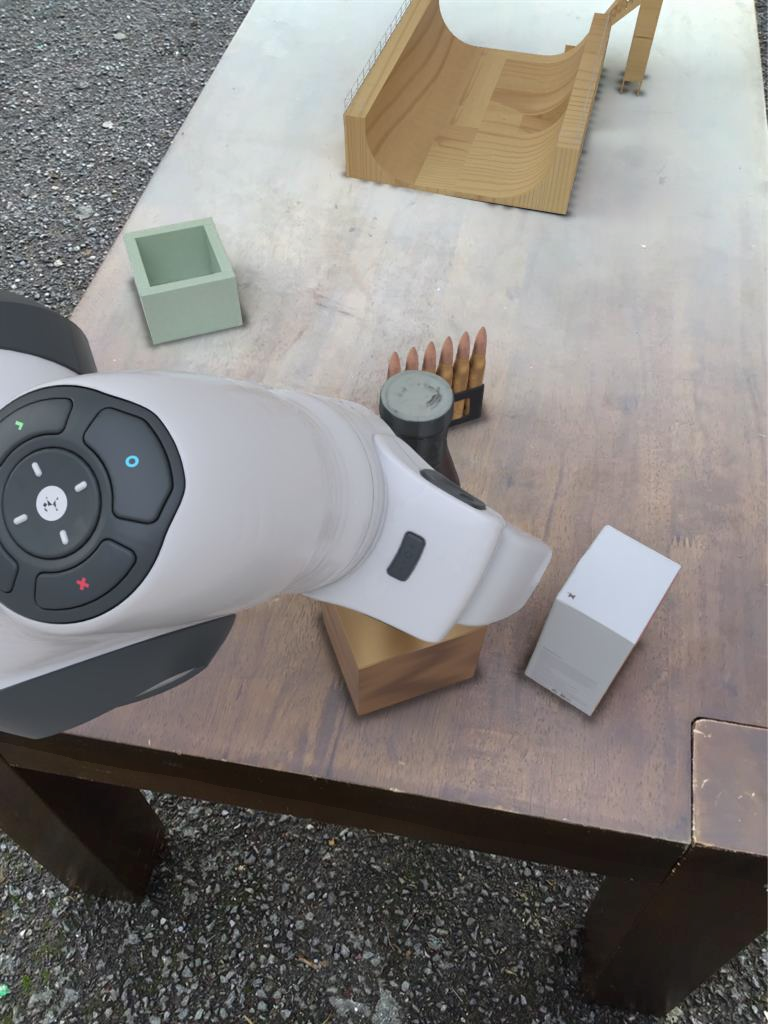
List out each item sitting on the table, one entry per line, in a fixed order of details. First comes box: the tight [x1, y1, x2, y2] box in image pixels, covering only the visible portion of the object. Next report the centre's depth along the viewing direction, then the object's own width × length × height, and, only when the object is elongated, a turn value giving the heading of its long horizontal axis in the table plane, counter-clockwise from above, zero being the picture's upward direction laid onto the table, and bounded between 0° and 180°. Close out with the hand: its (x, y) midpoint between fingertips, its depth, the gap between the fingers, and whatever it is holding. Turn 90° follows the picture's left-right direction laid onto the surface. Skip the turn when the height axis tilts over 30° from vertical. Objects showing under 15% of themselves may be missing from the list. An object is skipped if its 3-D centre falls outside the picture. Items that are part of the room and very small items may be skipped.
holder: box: [121, 216, 244, 346], centre depth 90 cm, size 10×11×7 cm
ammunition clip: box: [379, 326, 488, 429], centre depth 78 cm, size 11×2×12 cm, turn 114°
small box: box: [523, 524, 682, 717], centre depth 63 cm, size 8×6×13 cm
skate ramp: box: [342, 0, 664, 215], centre depth 111 cm, size 40×35×16 cm
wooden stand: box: [321, 601, 489, 717], centre depth 64 cm, size 10×9×9 cm
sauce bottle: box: [378, 369, 462, 488], centre depth 51 cm, size 7×6×20 cm
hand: (416, 485), depth 50 cm, fingers closed on sauce bottle, 6 cm apart
